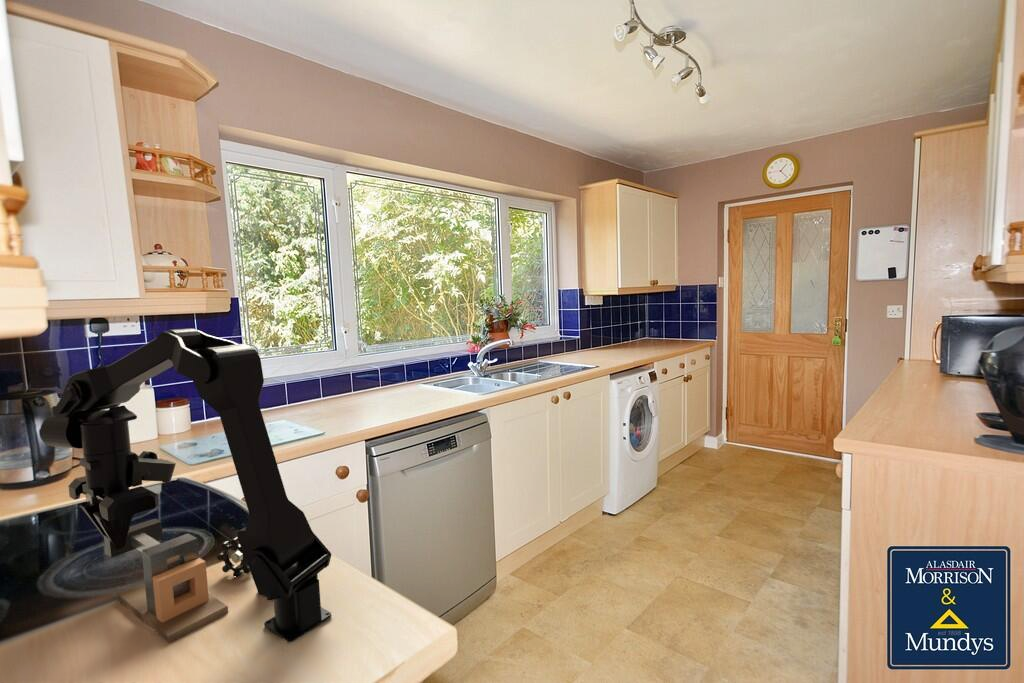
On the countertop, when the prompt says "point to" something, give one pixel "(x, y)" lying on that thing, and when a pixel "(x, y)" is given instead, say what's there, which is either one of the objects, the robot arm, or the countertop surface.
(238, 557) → the valve
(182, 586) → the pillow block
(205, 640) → the countertop surface
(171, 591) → the collar
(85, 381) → the robot arm
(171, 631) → the base plate
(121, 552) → the rod
